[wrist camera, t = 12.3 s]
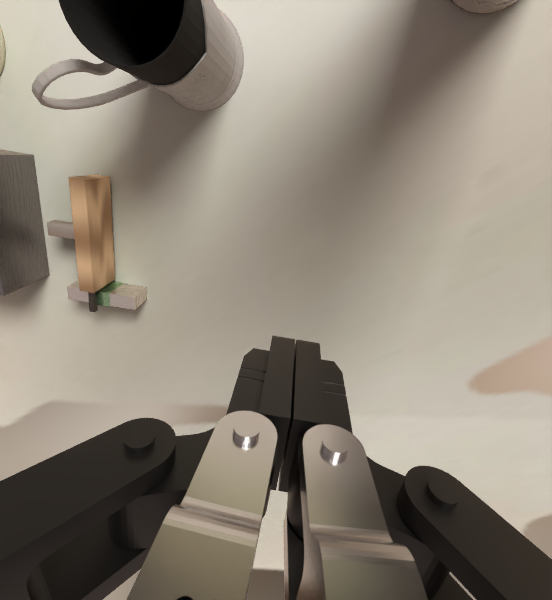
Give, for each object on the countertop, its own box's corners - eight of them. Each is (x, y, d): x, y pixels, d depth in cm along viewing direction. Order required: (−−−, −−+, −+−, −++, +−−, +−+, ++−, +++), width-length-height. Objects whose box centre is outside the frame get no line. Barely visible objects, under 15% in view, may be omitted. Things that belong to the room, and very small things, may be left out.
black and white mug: (261, 76, 33) (228, 19, 19) (149, 158, 36) (54, 160, 23) (209, -23, 30) (128, -173, 16) (94, 76, 34) (-50, 22, 20)
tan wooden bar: (59, 169, 37) (28, 170, 33) (109, 177, 37) (84, 179, 33) (72, 292, 43) (47, 307, 39) (116, 299, 43) (95, 315, 39)
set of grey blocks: (-22, 146, 37) (-95, 144, 31) (145, 172, 37) (109, 176, 30) (3, 275, 43) (-53, 298, 37) (146, 299, 43) (117, 326, 36)
